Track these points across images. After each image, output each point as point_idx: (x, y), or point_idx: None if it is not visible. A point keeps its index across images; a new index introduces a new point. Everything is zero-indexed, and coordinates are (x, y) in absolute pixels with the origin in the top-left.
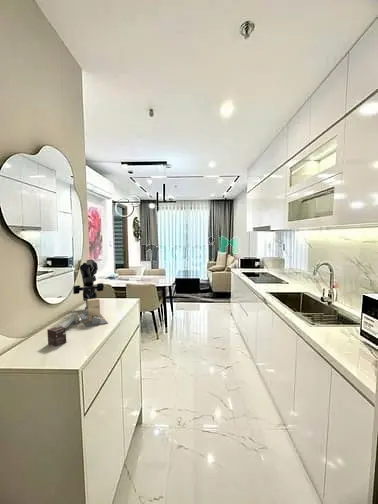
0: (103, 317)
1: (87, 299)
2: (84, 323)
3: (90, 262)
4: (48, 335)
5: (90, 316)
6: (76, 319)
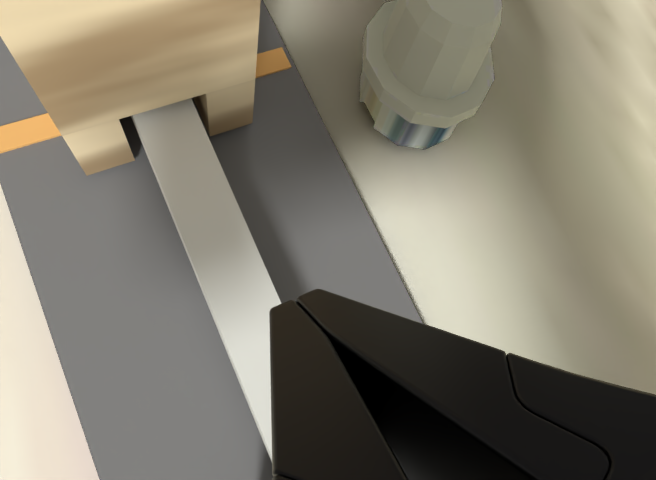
0: (9, 205)
1: None
2: (264, 12)
3: None
4: None
5: None
6: (386, 9)
